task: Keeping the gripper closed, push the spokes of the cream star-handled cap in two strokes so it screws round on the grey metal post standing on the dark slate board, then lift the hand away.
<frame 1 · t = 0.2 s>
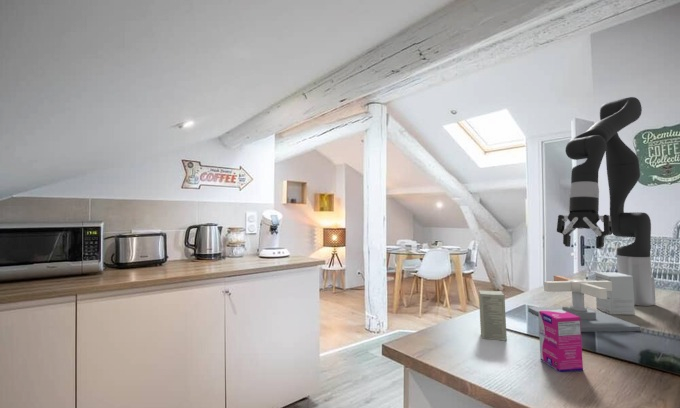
hand: (582, 247, 103), 22 cm above the kitchen island, tool pointing down, fingers open, 8 cm apart
skincare box: (492, 337, 88), on the kitchen island
supplement box: (561, 366, 71), on the kitchen island
star cap: (577, 286, 101), point 11 cm above the kitchen island, hinge at 0.0°
supplement box 2: (615, 312, 109), on the kitchen island
post board: (578, 319, 101), on the kitchen island
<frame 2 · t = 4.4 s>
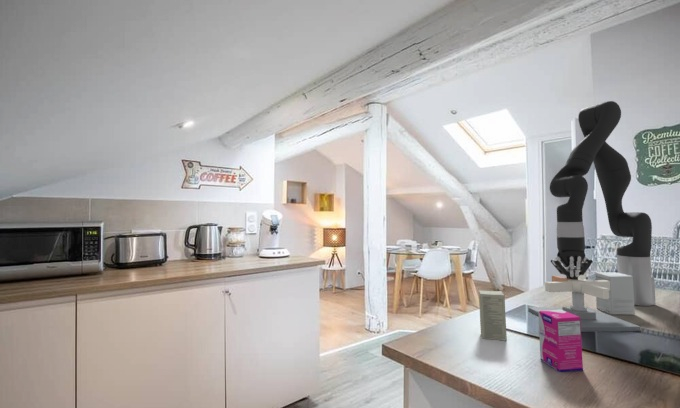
hand: (572, 287, 107), 9 cm above the kitchen island, tool pointing down, fingers closed
star cap: (577, 286, 101), point 11 cm above the kitchen island, hinge at 4.2°, touching gripper
everything else where it was.
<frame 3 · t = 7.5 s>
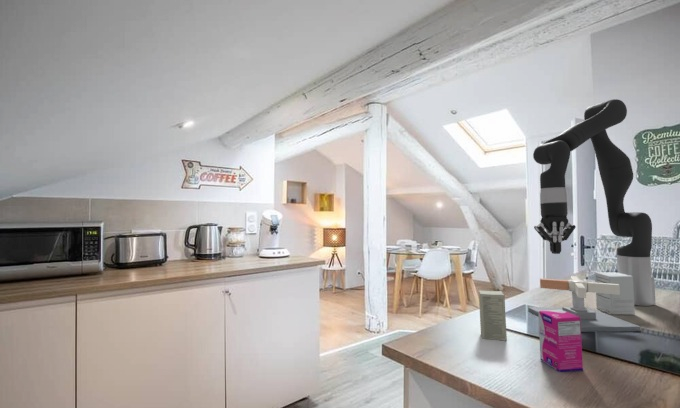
hand: (555, 253, 108), 20 cm above the kitchen island, tool pointing down, fingers closed
star cap: (577, 286, 101), point 11 cm above the kitchen island, hinge at 59.7°
everything else where it was.
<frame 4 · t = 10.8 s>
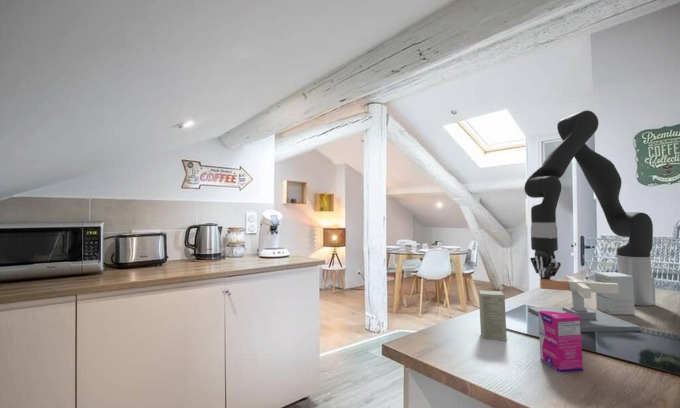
hand: (545, 288, 108), 9 cm above the kitchen island, tool pointing down, fingers closed
star cap: (577, 286, 101), point 11 cm above the kitchen island, hinge at 66.6°, touching gripper
everything else where it was.
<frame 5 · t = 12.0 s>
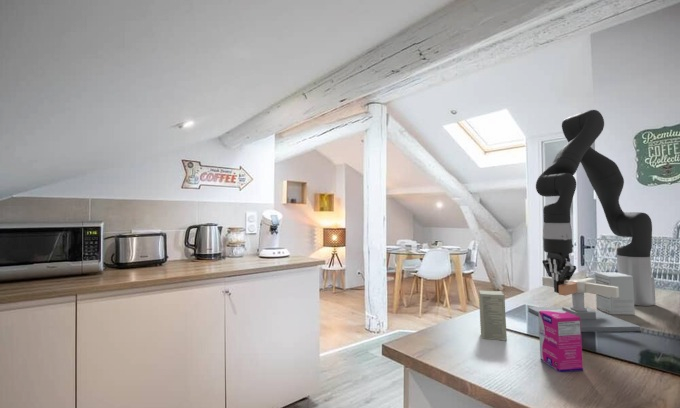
hand: (559, 292, 101), 9 cm above the kitchen island, tool pointing down, fingers closed
star cap: (577, 286, 101), point 11 cm above the kitchen island, hinge at 121.9°, touching gripper
everything else where it was.
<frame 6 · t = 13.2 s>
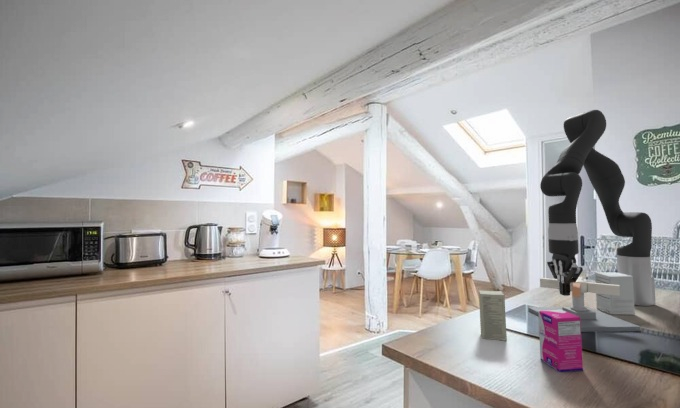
hand: (565, 295, 99), 9 cm above the kitchen island, tool pointing down, fingers closed
star cap: (577, 286, 101), point 11 cm above the kitchen island, hinge at 141.4°, touching gripper
everything else where it was.
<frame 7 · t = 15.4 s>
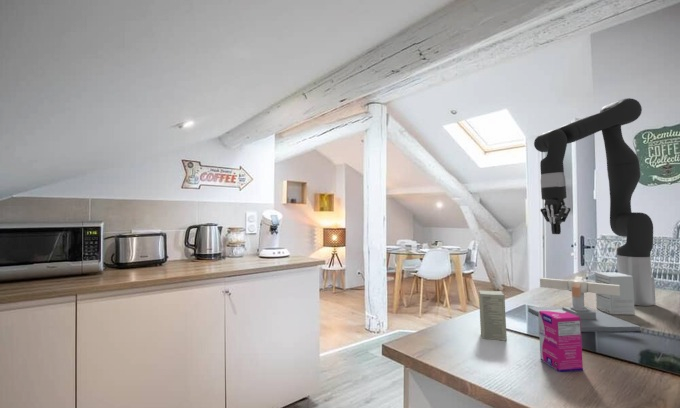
hand: (556, 234, 116), 26 cm above the kitchen island, tool pointing down, fingers closed
star cap: (577, 286, 101), point 11 cm above the kitchen island, hinge at 141.4°
everything else where it was.
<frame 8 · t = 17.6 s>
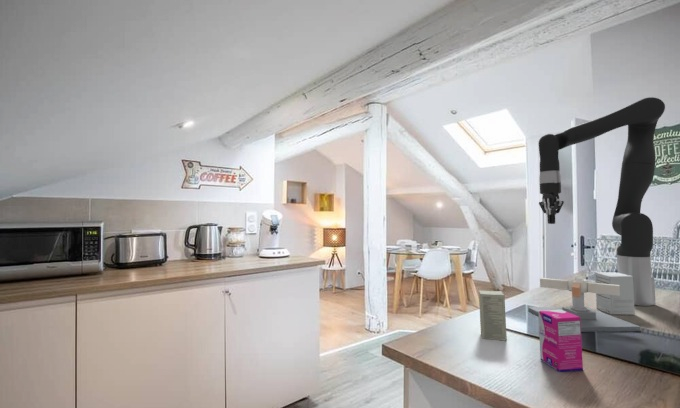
hand: (551, 223, 135), 29 cm above the kitchen island, tool pointing down, fingers closed
nothing on the kitchen island moved.
at the end: star cap at +141° (first picture: +0°) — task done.
